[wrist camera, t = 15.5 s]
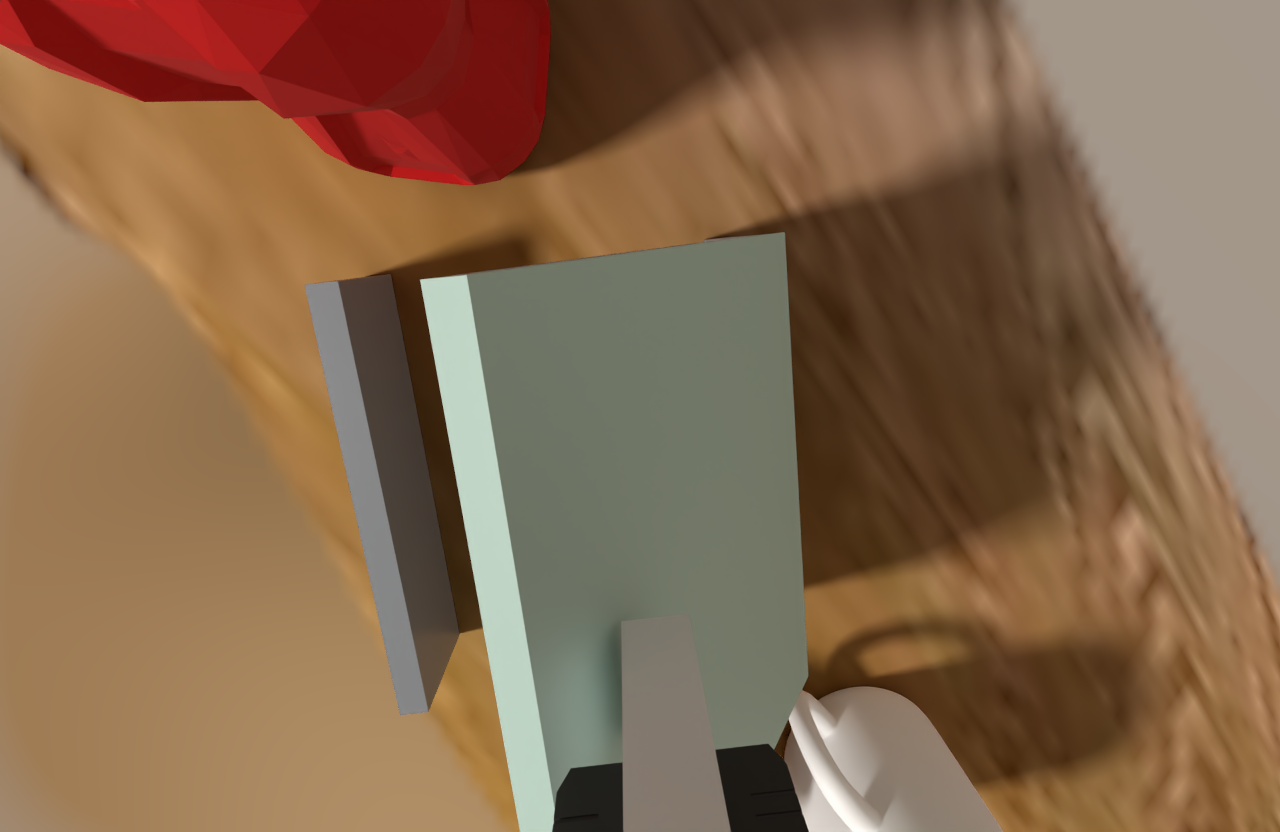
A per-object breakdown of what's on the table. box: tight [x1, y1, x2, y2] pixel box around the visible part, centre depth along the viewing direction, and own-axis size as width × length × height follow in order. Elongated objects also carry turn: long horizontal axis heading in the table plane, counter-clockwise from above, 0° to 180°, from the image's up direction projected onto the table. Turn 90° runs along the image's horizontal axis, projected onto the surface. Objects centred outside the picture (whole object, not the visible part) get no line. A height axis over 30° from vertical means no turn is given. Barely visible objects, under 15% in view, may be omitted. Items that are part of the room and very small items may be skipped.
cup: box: [784, 686, 1003, 832], centre depth 32 cm, size 8×12×10 cm
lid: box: [420, 232, 808, 832], centre depth 20 cm, size 18×16×1 cm
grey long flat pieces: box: [305, 235, 754, 715], centre depth 30 cm, size 18×16×6 cm
